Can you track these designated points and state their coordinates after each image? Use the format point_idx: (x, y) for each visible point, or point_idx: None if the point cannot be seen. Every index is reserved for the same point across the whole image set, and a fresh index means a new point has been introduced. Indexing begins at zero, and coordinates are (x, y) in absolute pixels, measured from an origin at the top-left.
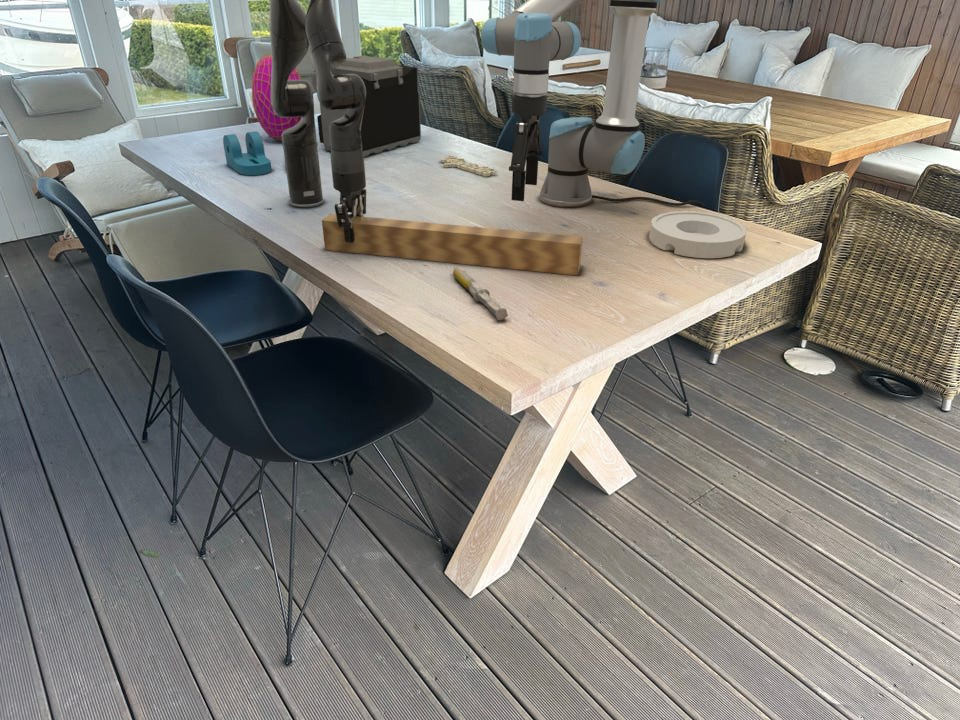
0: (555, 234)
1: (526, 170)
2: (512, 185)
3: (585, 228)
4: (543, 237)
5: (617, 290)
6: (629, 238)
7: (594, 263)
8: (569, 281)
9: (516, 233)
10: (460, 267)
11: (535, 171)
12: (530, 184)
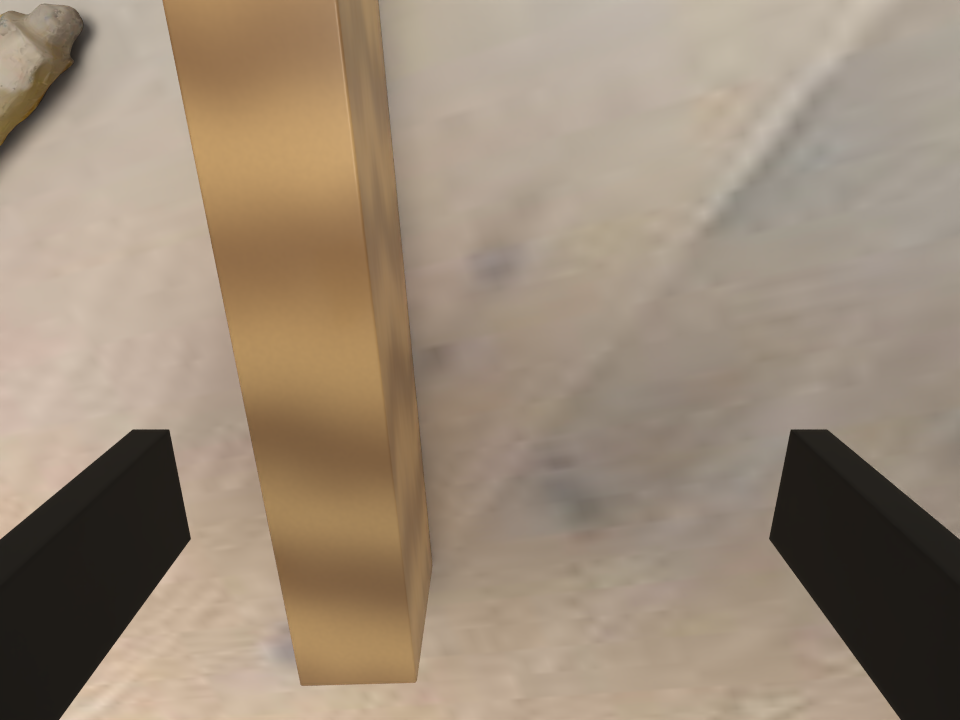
0: (394, 562)
1: (894, 532)
2: (20, 530)
3: (946, 525)
4: (317, 512)
5: (266, 698)
6: (824, 697)
7: (495, 608)
8: (271, 548)
9: (318, 352)
10: (17, 53)
11: (861, 639)
12: (782, 486)
